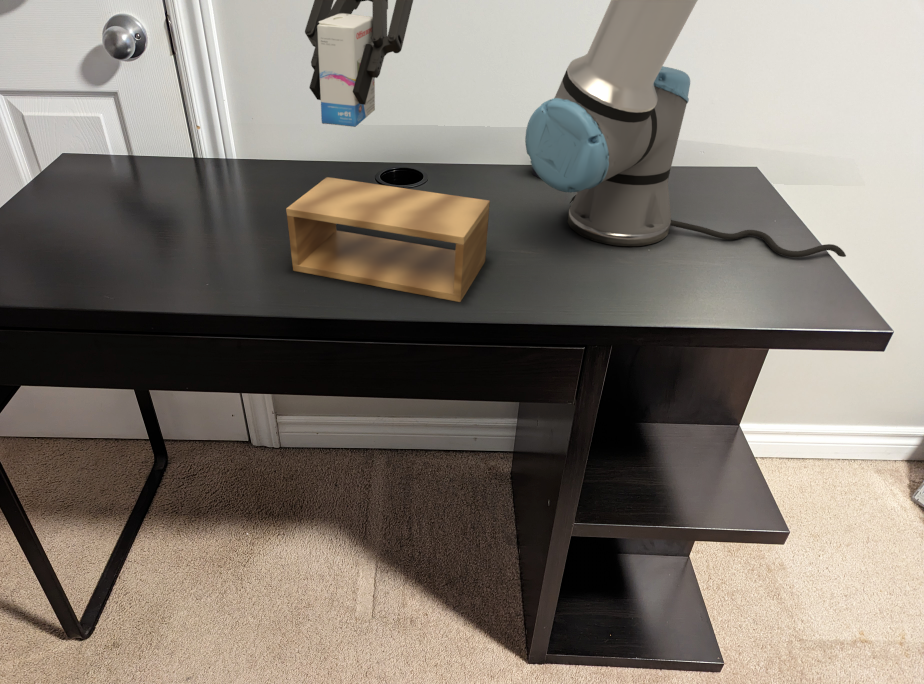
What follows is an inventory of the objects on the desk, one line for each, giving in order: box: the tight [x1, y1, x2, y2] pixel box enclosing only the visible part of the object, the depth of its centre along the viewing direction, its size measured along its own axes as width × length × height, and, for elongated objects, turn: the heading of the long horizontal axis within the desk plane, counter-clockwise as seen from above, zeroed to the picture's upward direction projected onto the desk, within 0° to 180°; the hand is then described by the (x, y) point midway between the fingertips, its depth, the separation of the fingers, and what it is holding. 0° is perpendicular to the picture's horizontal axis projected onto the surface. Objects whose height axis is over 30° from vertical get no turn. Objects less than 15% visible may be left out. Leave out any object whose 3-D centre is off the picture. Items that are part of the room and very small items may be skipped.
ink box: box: [317, 13, 376, 128], centre depth 87 cm, size 9×5×12 cm, turn 165°
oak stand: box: [285, 176, 491, 303], centre depth 92 cm, size 24×12×9 cm, turn 70°
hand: (337, 95), depth 86 cm, fingers closed on ink box, 5 cm apart
